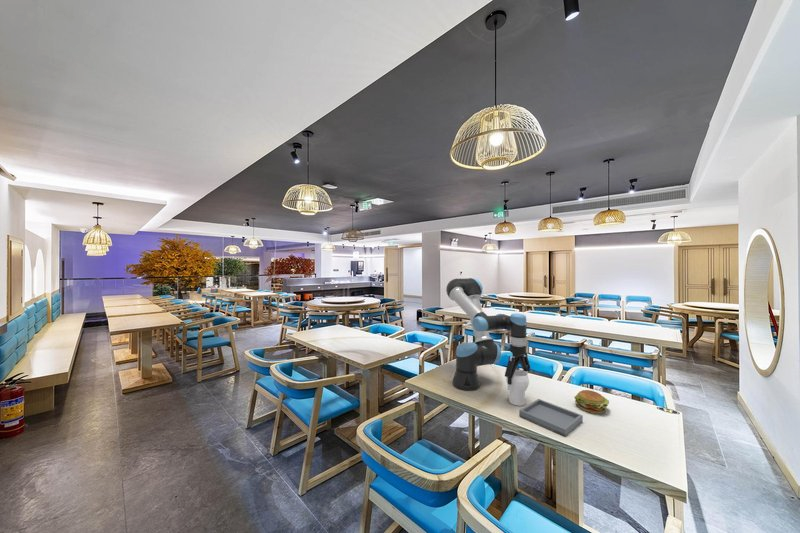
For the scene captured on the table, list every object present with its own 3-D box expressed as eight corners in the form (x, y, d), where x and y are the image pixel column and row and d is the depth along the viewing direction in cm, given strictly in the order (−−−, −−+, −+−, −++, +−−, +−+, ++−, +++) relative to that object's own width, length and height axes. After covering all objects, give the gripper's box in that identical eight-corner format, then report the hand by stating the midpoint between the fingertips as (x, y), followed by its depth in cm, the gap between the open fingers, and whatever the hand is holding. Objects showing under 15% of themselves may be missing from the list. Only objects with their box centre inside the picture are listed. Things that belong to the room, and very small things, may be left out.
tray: (519, 416, 138) (519, 410, 138) (538, 404, 150) (538, 398, 150) (565, 436, 123) (565, 429, 123) (582, 421, 134) (582, 415, 134)
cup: (530, 408, 146) (531, 377, 145) (507, 406, 148) (508, 376, 148) (525, 398, 156) (526, 369, 156) (504, 396, 158) (505, 368, 158)
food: (596, 418, 137) (596, 401, 137) (568, 404, 150) (569, 388, 150) (616, 413, 142) (616, 396, 142) (587, 399, 155) (588, 384, 155)
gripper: (511, 351, 140) (511, 396, 141) (537, 342, 156) (537, 382, 156) (497, 347, 146) (497, 390, 147) (523, 339, 162) (523, 378, 162)
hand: (517, 386), depth 151 cm, fingers open, 13 cm apart
